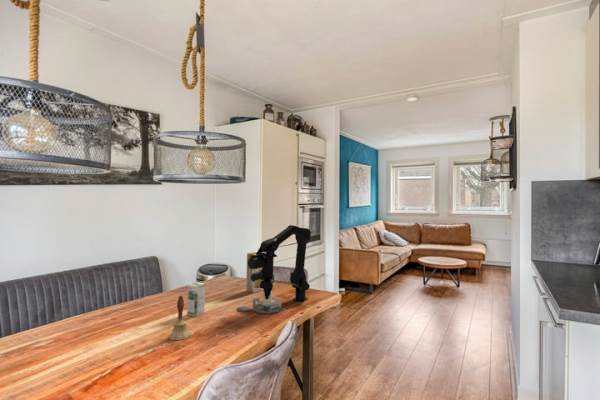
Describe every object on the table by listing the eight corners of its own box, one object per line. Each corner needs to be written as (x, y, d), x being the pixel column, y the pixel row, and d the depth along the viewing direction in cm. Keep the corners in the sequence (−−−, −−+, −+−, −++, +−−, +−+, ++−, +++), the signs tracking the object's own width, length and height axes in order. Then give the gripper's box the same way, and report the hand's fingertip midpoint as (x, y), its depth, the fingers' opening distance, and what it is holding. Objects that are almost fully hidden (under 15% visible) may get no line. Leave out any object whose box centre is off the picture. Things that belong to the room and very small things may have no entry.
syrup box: (186, 315, 149) (187, 284, 149) (196, 311, 154) (196, 281, 154) (195, 317, 147) (196, 286, 147) (204, 313, 152) (205, 283, 152)
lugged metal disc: (251, 314, 151) (252, 303, 151) (254, 304, 165) (254, 294, 165) (281, 314, 152) (281, 303, 152) (280, 304, 166) (281, 294, 166)
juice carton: (254, 293, 185) (255, 252, 185) (244, 291, 189) (244, 251, 189) (264, 289, 193) (264, 250, 193) (254, 287, 197) (254, 249, 197)
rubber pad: (242, 306, 163) (242, 305, 163) (253, 308, 159) (253, 307, 159) (233, 310, 156) (233, 309, 156) (245, 312, 153) (245, 312, 153)
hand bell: (169, 333, 129) (169, 294, 129) (190, 330, 132) (191, 292, 132) (168, 342, 121) (169, 300, 121) (191, 338, 124) (191, 298, 124)
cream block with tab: (256, 304, 156) (256, 292, 156) (257, 301, 161) (257, 289, 161) (277, 304, 157) (277, 292, 157) (277, 301, 161) (277, 289, 161)
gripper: (253, 262, 168) (253, 292, 168) (249, 270, 149) (248, 303, 149) (274, 262, 168) (274, 292, 168) (272, 270, 150) (272, 303, 150)
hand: (267, 297), depth 159 cm, fingers closed on cream block with tab, 4 cm apart
